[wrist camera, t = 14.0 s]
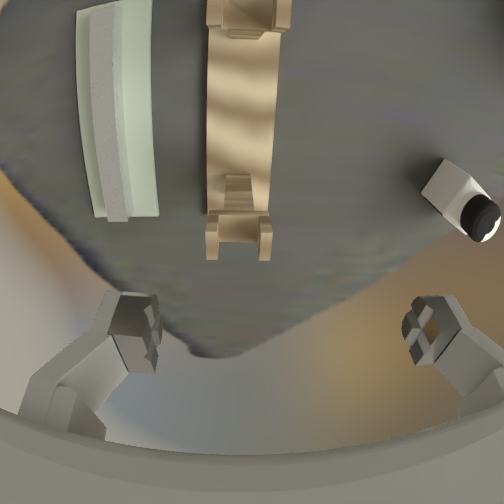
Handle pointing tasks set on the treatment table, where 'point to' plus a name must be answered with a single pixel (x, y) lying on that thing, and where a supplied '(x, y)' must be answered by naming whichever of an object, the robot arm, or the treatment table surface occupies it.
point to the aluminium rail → (110, 111)
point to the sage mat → (134, 100)
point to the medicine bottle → (462, 202)
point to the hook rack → (241, 118)
